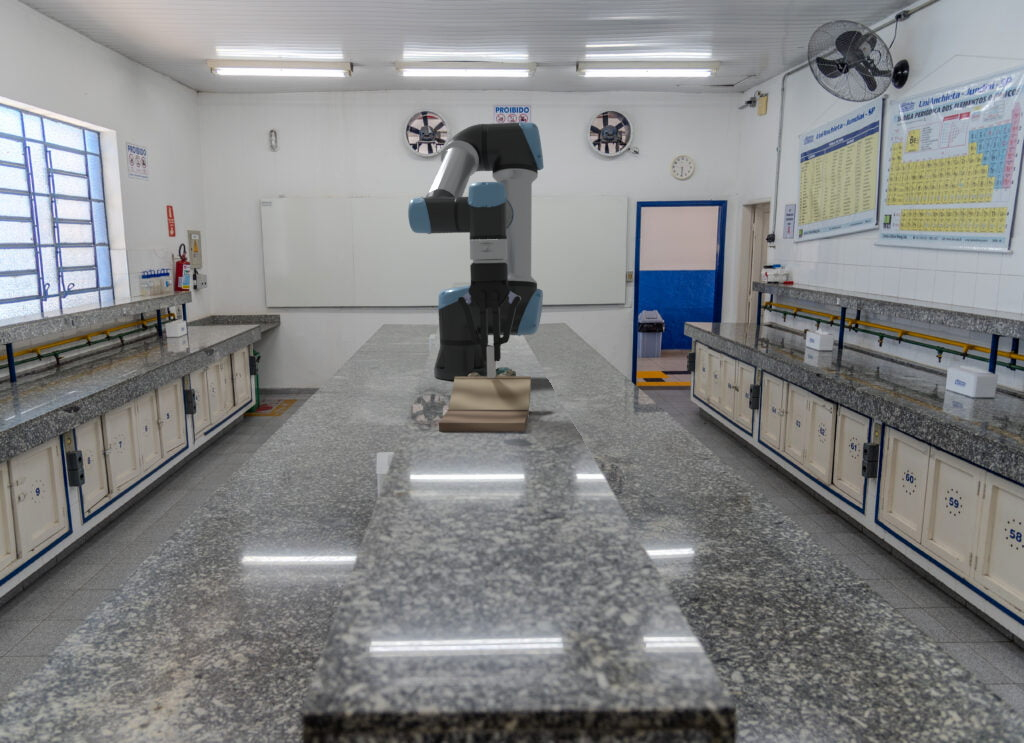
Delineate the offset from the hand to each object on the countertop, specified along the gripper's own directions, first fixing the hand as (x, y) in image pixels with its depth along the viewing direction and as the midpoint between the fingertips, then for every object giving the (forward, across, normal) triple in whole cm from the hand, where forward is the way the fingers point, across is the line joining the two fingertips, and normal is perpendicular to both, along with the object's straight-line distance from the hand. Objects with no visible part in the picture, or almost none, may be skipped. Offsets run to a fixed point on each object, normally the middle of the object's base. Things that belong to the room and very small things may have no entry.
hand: (491, 376), depth 145 cm
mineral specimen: (+7, -2, +13) cm, 15 cm away
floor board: (+7, 0, -12) cm, 14 cm away
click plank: (+4, 0, -2) cm, 4 cm away
